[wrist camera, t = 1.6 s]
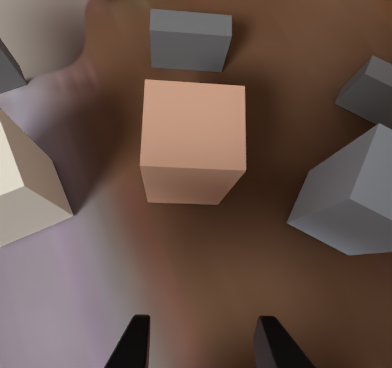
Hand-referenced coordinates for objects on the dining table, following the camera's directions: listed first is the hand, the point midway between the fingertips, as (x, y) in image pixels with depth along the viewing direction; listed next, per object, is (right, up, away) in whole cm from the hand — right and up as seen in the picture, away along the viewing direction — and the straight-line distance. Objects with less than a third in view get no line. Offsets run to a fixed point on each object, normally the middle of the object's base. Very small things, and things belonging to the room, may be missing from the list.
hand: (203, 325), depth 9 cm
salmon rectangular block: (-1, +4, +14) cm, 15 cm away
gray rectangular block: (+9, +2, +14) cm, 17 cm away
